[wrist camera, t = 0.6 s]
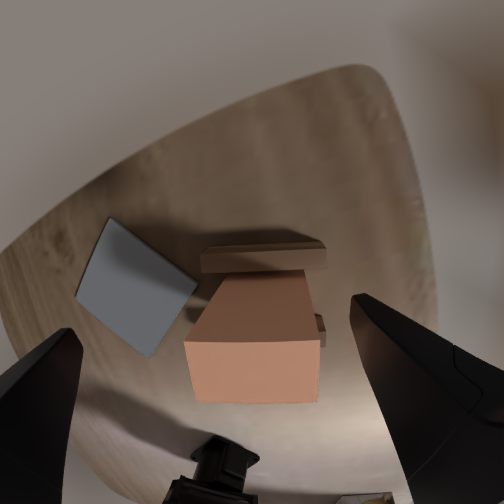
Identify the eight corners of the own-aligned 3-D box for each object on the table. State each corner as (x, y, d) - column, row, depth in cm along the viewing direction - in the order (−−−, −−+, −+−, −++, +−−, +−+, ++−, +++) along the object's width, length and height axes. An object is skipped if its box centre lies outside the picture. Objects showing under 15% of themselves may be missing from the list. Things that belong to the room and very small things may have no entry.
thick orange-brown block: (304, 308, 24) (317, 402, 13) (233, 311, 25) (196, 401, 13) (303, 267, 24) (320, 339, 12) (229, 270, 24) (183, 341, 13)
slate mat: (150, 357, 27) (148, 359, 27) (77, 297, 27) (75, 298, 26) (198, 283, 25) (197, 284, 24) (111, 217, 24) (109, 217, 24)
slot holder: (321, 330, 24) (325, 347, 22) (219, 332, 26) (211, 349, 23) (320, 241, 23) (326, 248, 20) (209, 246, 24) (199, 254, 21)
